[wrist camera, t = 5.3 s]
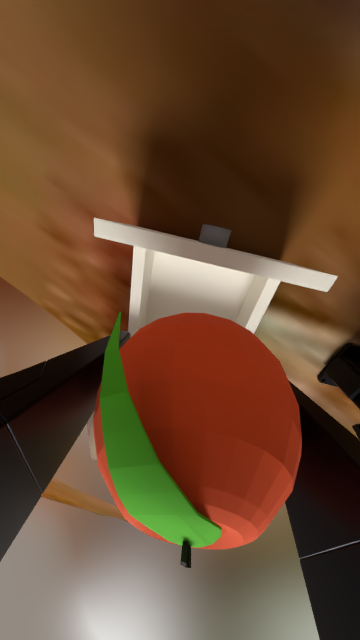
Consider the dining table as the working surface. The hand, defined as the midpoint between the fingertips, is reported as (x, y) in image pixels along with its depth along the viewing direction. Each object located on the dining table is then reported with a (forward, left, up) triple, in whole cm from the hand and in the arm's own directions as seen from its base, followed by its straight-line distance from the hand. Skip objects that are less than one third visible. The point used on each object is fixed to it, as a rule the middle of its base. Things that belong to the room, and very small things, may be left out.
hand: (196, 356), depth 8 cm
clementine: (0, 0, -2) cm, 2 cm away
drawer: (0, +1, -11) cm, 11 cm away
